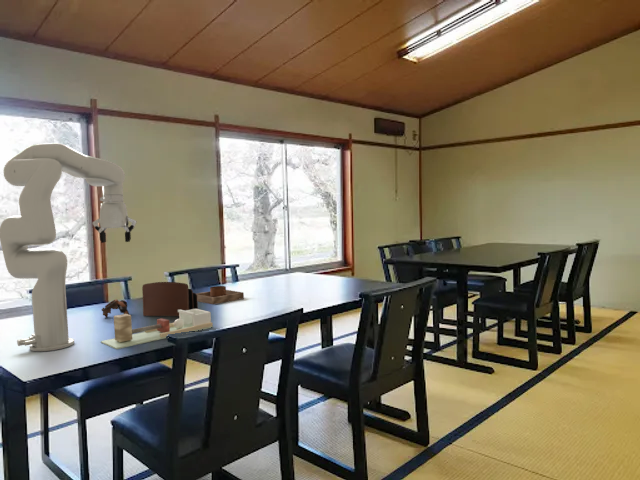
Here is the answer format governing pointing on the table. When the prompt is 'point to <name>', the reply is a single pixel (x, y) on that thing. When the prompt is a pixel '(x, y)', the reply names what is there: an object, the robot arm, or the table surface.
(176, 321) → the ball
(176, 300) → the letter holder
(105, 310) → the brown jagged arch
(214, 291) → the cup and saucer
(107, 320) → the table surface
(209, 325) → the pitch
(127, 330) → the rod
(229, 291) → the tray frame
